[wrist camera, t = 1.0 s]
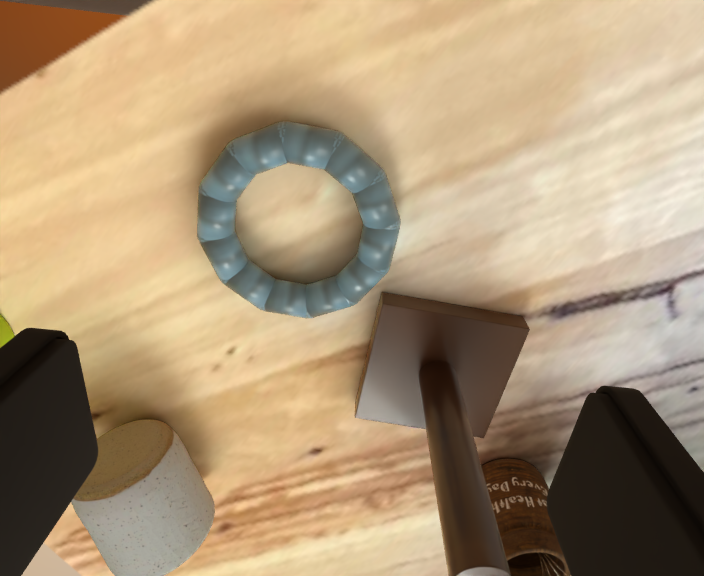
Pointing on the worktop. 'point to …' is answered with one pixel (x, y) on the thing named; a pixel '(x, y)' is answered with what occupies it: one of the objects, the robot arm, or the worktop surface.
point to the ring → (313, 151)
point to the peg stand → (446, 407)
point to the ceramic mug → (144, 500)
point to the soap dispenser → (5, 332)
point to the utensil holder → (524, 518)
